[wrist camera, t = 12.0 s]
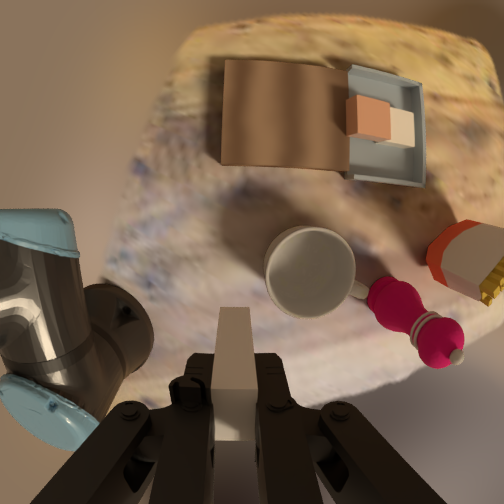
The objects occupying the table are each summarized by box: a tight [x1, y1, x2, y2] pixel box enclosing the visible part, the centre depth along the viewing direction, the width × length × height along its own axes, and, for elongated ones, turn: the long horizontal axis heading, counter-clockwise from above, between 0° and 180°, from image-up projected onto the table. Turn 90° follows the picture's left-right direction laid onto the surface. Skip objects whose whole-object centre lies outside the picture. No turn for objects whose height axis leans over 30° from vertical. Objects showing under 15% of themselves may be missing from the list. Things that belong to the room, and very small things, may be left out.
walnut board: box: [221, 60, 350, 172], centre depth 34 cm, size 16×14×3 cm
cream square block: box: [375, 107, 415, 149], centre depth 34 cm, size 5×5×3 cm
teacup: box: [263, 226, 369, 319], centre depth 36 cm, size 14×11×8 cm
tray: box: [344, 64, 426, 188], centre depth 34 cm, size 12×16×4 cm
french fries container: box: [426, 219, 504, 307], centre depth 32 cm, size 5×11×18 cm, turn 127°
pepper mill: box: [367, 276, 464, 369], centre depth 32 cm, size 7×7×20 cm
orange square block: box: [346, 95, 391, 142], centre depth 32 cm, size 5×5×3 cm
